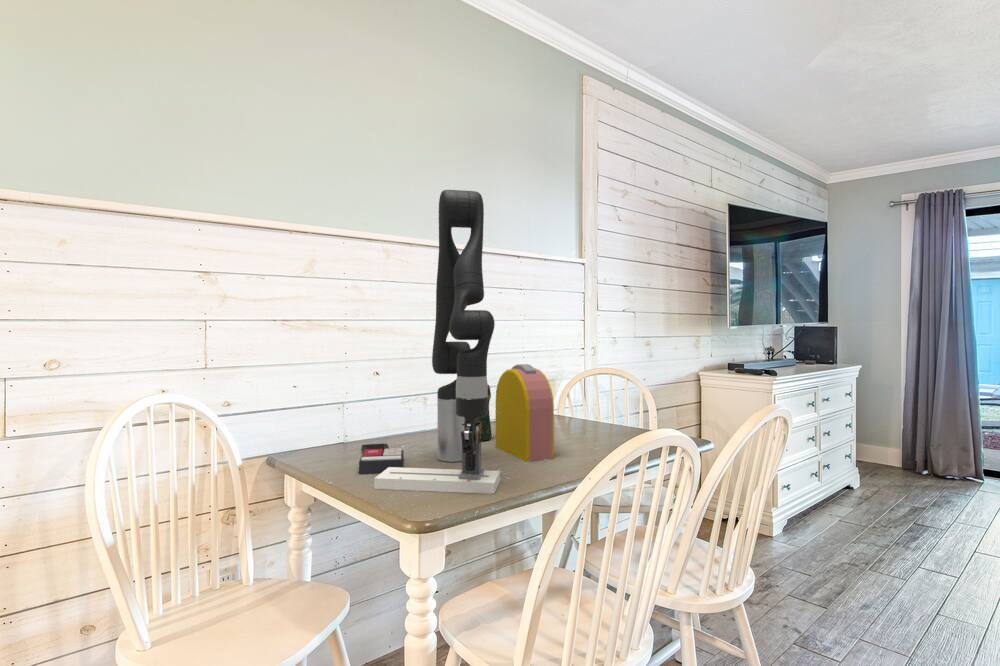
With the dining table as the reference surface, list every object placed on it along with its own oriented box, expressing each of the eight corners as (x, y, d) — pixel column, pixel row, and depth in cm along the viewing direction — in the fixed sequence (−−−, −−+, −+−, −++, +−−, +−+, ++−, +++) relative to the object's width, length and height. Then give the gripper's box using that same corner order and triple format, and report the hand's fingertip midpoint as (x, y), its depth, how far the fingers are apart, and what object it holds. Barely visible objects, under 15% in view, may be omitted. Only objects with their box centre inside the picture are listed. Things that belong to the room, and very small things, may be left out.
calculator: (403, 447, 156) (402, 456, 141) (403, 462, 156) (402, 473, 141) (363, 448, 154) (358, 458, 139) (363, 463, 154) (358, 475, 139)
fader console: (388, 477, 137) (388, 466, 137) (500, 481, 133) (500, 470, 133) (374, 488, 127) (374, 477, 127) (494, 493, 123) (494, 482, 123)
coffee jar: (485, 436, 187) (485, 382, 187) (494, 440, 180) (494, 384, 180) (458, 438, 183) (458, 383, 183) (466, 443, 176) (466, 385, 176)
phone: (387, 443, 172) (390, 454, 158) (387, 446, 172) (390, 457, 158) (361, 444, 170) (362, 455, 156) (361, 448, 170) (362, 459, 156)
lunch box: (554, 458, 156) (554, 366, 156) (526, 462, 152) (526, 367, 152) (520, 444, 175) (520, 361, 175) (494, 446, 171) (494, 362, 171)
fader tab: (463, 471, 132) (463, 439, 132) (484, 472, 132) (484, 439, 132) (458, 478, 126) (458, 444, 126) (479, 479, 125) (480, 445, 125)
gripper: (462, 391, 136) (461, 460, 136) (449, 398, 122) (449, 475, 122) (491, 391, 135) (491, 461, 135) (482, 399, 121) (482, 477, 121)
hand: (471, 468), depth 129 cm, fingers closed on fader tab, 3 cm apart
